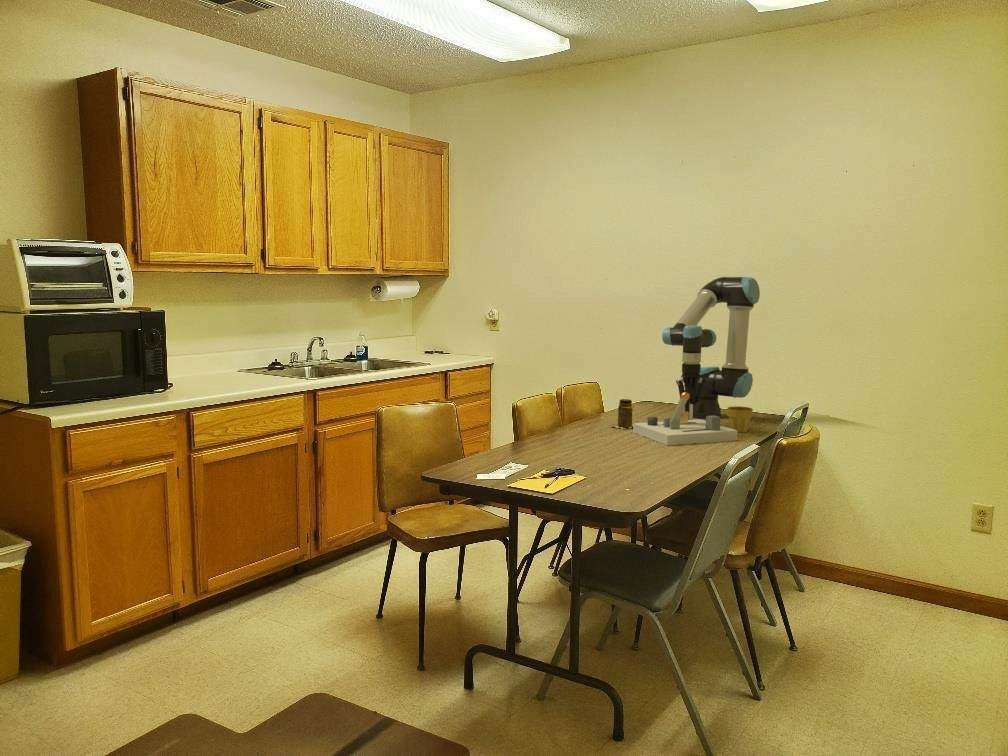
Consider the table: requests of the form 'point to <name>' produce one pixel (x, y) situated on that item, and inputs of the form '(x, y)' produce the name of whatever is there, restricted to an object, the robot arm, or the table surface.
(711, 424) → the grey slider
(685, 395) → the toggle lever
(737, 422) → the plant pot
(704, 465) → the table surface
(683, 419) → the brass slider
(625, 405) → the condiment
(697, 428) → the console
